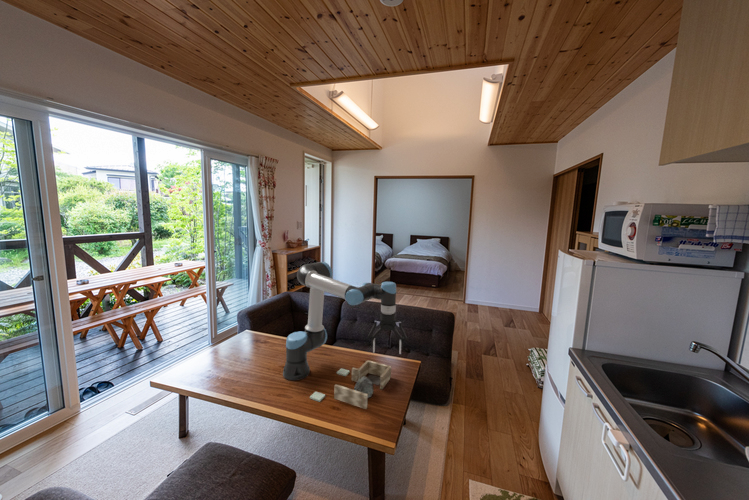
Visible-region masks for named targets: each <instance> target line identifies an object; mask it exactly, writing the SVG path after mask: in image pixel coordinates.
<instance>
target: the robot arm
mask: <svg viewBox="0 0 749 500" xmlns="http://www.w3.org/2000/svg"><path fill="white" fill-rule="evenodd" d="M332 277H333V270H332V267H331V266H330V264H329V263H327V262H326V261H318V262H313V263H312V262H311V263H306V264H303V265H301V266H300V267H299V268H298V270H297V273H296V278H297V281H298V282H299V283H300V285H302V286H305V287H306V288H309V298H308V299H309V300H308V313H307V315H308V316H307V318H308V319H307V324H306V325H305V326H304V331H294V332H292V333H290V334H288V336H287V337H286V340H285V341H286V343H285V351H286V352H285V359H286V360H285V365H284V367H283V371H282V376H283V377H284V378H285V379H286V380H288V381H298V380H299V381H300V380H303V379H305V378H307V377H308V376H309V375H310V370H311V369H310V365H309V362H308V353H309V352H312V351H314V350H315V349H317V348H320V347H322V346H323V345H324V344H326V342H327V340H328V332H327V329H325V326H324V325H323V315H324V302H325V293H327V294H331V295H334V296H336V297H338V298H341V299H344V300H345V301H346V303H347V304H348V305H350V306H357V305H360V304H362V303H366V302H367V301H369V300H372V299H373V300H378V301H379V300H380V312H381V313H380V321H377V320H374V323H373V326H372V328H371V330H370V331H369V333H368V335H367V340H370V346H371V347H372V353H373V354H374V353H375V350H376V338H377V337H378V335H379V334H380V333H381V332H382V331H388V332H391V331H392V332H393V333H394V334H395V335H396V336H397V338H398V339H399V351H398V352H399V353H398V354H399V355H402V348H404V342H406V341H408V337H407V335H406V334H407V333H405V330H404V328H403V326H402V321H401V320H399V321H396V311H397V307H396V306H397V304H396V302H397V301H396V300H397V284H396V282H393V281H383V282H381V284H376V283H372V282H364V283H362V284H361V285H360V287H358V286H354V285H351V284H348V283H346V282H343V281H340V280H338V279H337V280H336V279H334V278H332ZM377 326H380V327H379V328H378V329H377V330H376V328H377ZM396 326H397V327H398V329H399V331H400V332H401V334H402V335H401V334H400V332H399V331H398V330H397V328H396ZM375 330H376V331H375Z"/></svg>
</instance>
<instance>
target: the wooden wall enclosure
mask: <svg viewBox="0 0 749 500" xmlns="http://www.w3.org/2000/svg"><path fill="white" fill-rule="evenodd" d="M367 374H368V376H367ZM364 376H365V377H367V378H368V379H370V380H371V381H372V384H373V385H374V386H379V390H384V388H385V387H386V385H387V383H389V381H390V379H392V366H391V365H387V364H384V363H381V362H380V363H379V362H377V361H376V362H375V361H372V360H366V361H365V362H364V363H362V365H361V366H360V367H358V368H356V367H352V368H351V381H352V382H356V383H357V381H358V380H360V379H361V378H362V377H364ZM333 389H334V390H333V391H334V392H333V396H334V397H333V399H334V400H338V401H340V402H344V403H346V404H349V405H351V406H355V407H359V408H361V409H364V410H367V409H368V400H369V398H368V394H366V393H362V392H359V391H356V390H354V388H353V389H352V388H351V387H346V386H343V385H340V384H334V388H333Z"/></svg>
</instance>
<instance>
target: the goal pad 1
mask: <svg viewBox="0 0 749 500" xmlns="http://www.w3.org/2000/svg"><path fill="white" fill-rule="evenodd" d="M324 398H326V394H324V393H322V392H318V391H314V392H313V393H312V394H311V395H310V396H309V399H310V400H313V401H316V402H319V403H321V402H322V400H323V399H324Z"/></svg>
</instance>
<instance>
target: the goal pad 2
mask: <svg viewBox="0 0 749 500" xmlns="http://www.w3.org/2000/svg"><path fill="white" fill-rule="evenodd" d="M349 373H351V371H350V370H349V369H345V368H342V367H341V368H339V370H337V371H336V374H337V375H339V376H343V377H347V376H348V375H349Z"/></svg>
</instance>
